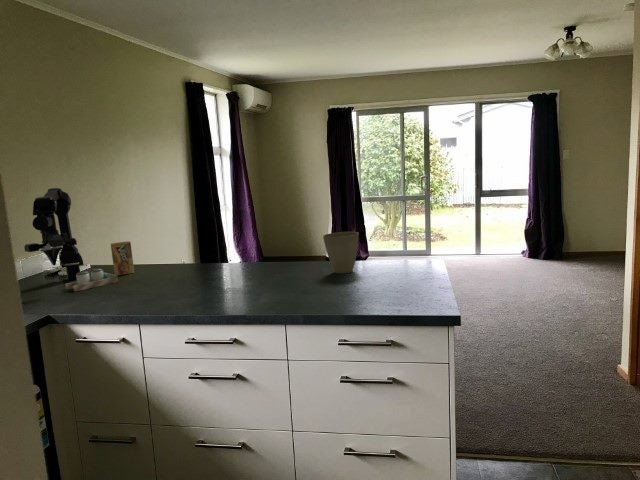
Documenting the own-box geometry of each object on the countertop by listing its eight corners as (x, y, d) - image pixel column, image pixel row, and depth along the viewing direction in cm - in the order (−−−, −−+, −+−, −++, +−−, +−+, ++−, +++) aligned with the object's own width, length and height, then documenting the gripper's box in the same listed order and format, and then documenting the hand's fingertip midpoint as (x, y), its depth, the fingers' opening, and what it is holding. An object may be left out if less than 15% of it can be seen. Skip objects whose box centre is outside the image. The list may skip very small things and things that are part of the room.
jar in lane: (90, 285, 230) (88, 270, 229) (101, 282, 234) (99, 268, 233) (95, 286, 226) (93, 271, 225) (106, 283, 230) (104, 269, 229)
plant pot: (362, 267, 224) (360, 230, 222) (359, 275, 210) (356, 236, 208) (328, 268, 227) (326, 232, 225) (322, 276, 213) (320, 237, 210)
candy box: (133, 271, 254) (129, 240, 252) (134, 273, 250) (130, 241, 248) (114, 274, 250) (110, 243, 248) (115, 275, 246) (110, 244, 244)
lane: (75, 291, 218) (74, 284, 218) (66, 289, 224) (65, 282, 224) (118, 281, 232) (117, 275, 231) (108, 279, 238) (107, 273, 237)
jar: (75, 288, 225) (73, 273, 224) (87, 285, 229) (84, 270, 228) (82, 289, 222) (79, 274, 221) (93, 286, 226) (91, 271, 225)
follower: (108, 282, 230) (106, 274, 229) (101, 281, 234) (100, 272, 233) (110, 282, 231) (109, 273, 230) (104, 280, 235) (102, 272, 234)
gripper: (31, 232, 201) (37, 271, 203) (79, 225, 215) (85, 262, 217) (21, 231, 209) (27, 269, 211) (68, 224, 222) (73, 260, 225)
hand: (54, 265), depth 216 cm, fingers closed
